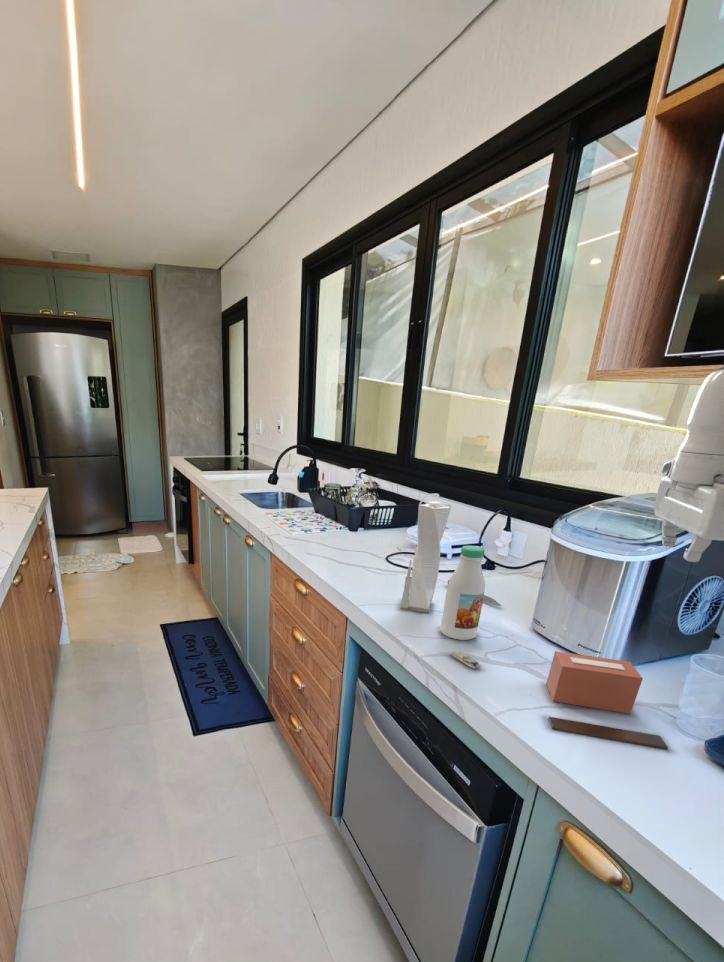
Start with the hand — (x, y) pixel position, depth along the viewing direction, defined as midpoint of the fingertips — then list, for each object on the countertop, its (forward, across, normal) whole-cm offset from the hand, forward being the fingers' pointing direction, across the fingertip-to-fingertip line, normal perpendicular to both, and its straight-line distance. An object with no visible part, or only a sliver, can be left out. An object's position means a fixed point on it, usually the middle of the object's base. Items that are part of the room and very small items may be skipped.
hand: (677, 553), depth 87 cm
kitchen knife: (+25, +36, +27) cm, 52 cm away
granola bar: (+25, -4, +31) cm, 40 cm away
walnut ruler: (+25, -22, +11) cm, 35 cm away
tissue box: (+25, -11, +11) cm, 30 cm away
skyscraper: (+25, +24, +41) cm, 54 cm away
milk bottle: (+25, +10, +32) cm, 42 cm away
